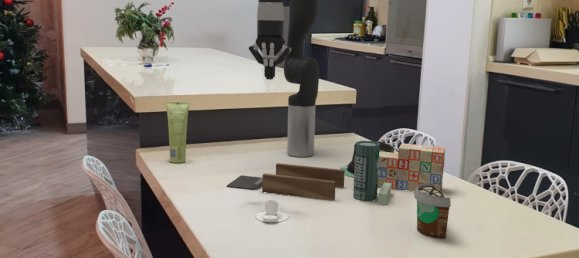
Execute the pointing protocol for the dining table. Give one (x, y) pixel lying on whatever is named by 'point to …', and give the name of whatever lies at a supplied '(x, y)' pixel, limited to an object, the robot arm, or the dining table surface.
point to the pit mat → (246, 183)
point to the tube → (177, 130)
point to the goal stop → (384, 193)
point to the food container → (432, 211)
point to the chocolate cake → (351, 165)
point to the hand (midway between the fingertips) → (269, 79)
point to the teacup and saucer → (271, 212)
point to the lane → (304, 181)
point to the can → (366, 170)
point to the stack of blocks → (412, 167)
